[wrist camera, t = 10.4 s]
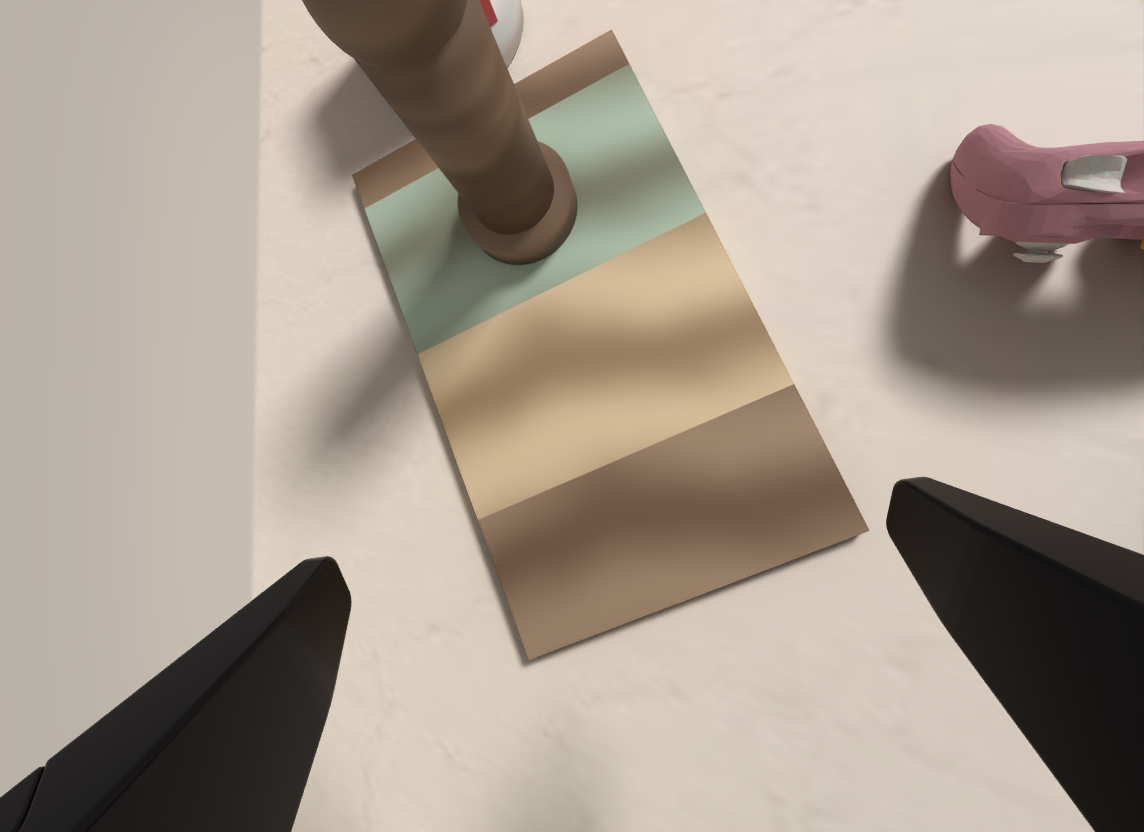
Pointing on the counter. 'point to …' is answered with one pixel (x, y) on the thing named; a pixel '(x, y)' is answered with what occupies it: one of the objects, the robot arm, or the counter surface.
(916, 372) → the counter surface
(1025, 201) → the video game controller
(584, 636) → the game track
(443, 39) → the pawn
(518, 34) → the die stand
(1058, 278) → the counter surface
